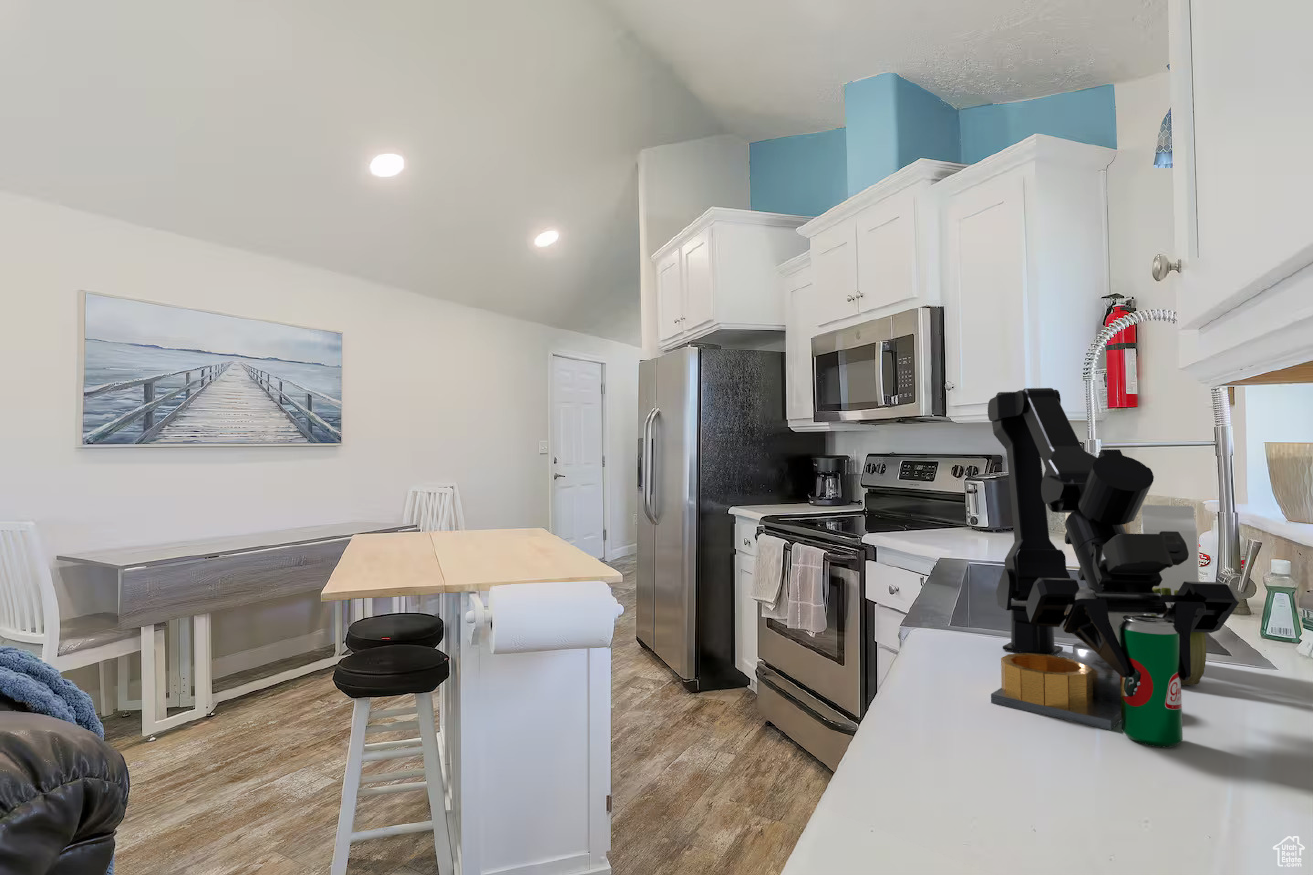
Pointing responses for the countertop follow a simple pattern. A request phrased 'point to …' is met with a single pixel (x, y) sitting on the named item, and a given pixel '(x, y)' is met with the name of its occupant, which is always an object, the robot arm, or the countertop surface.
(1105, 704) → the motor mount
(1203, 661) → the fennel bulb
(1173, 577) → the milk
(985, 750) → the countertop surface
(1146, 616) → the soda can
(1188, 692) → the countertop surface
